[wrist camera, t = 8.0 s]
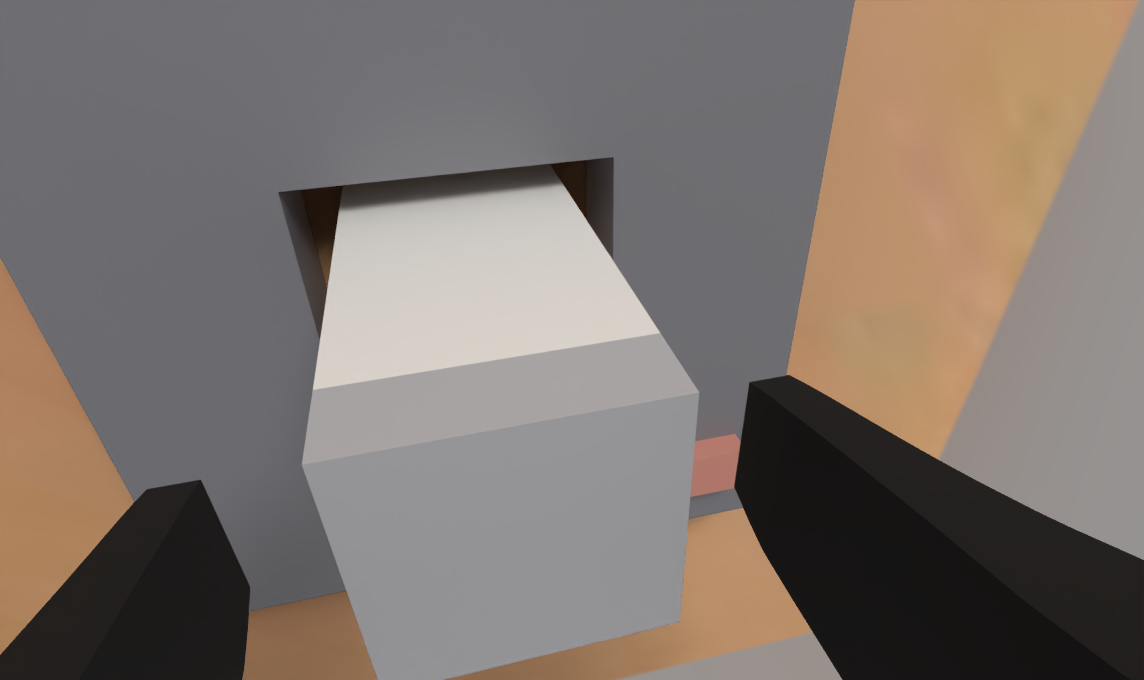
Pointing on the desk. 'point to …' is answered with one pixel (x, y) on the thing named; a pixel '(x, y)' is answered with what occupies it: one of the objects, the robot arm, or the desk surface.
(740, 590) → the desk surface
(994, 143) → the desk surface
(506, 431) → the plug
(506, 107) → the socket plate
